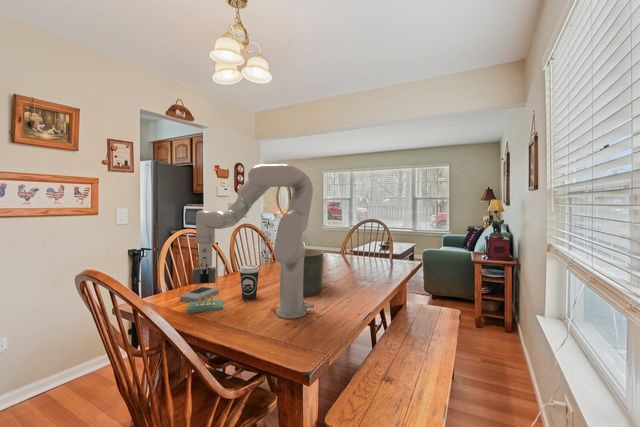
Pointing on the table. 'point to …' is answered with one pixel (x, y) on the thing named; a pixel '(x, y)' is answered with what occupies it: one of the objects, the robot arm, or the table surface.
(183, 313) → the table surface
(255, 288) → the coffee cup
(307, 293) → the planter
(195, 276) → the block
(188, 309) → the board
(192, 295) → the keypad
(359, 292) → the table surface
